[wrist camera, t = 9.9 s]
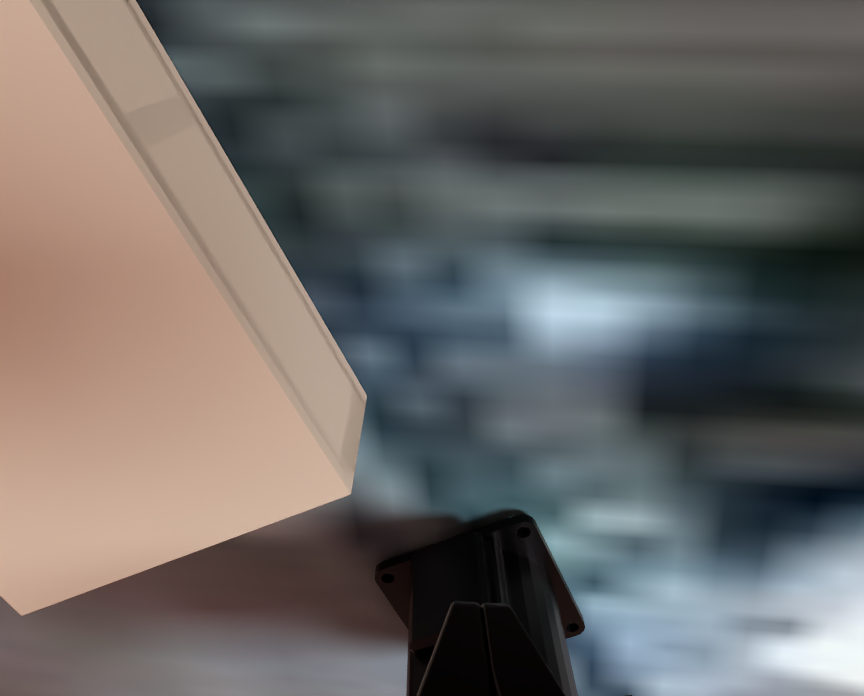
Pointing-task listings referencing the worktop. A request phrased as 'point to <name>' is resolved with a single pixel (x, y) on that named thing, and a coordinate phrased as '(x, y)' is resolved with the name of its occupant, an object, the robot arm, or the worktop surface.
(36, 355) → the cabinet
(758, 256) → the worktop surface
